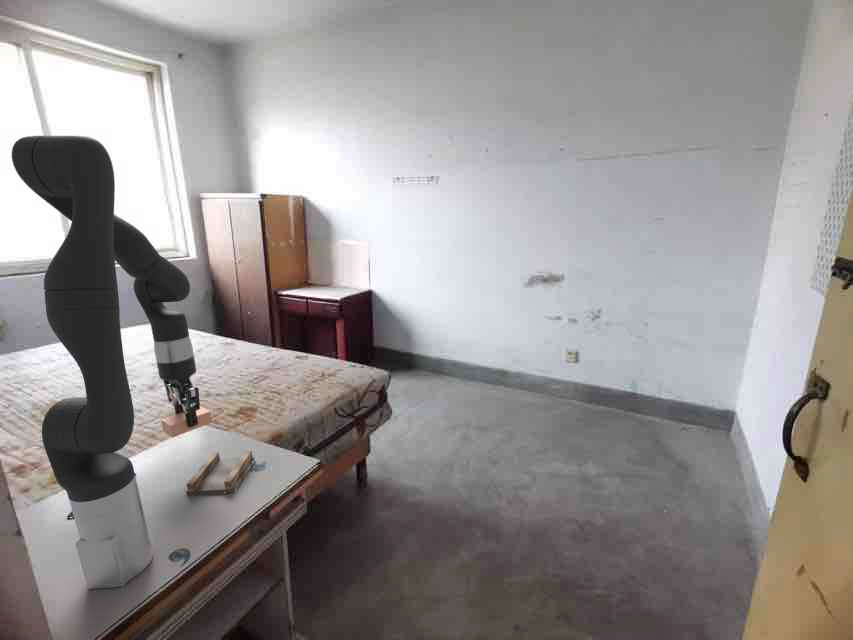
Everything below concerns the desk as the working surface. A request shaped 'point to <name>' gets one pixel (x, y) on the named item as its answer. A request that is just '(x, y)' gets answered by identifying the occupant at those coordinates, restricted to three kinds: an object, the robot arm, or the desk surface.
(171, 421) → the salmon pink block
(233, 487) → the holder
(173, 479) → the desk surface
